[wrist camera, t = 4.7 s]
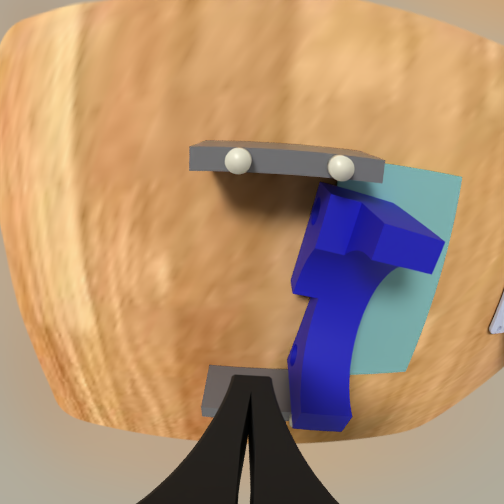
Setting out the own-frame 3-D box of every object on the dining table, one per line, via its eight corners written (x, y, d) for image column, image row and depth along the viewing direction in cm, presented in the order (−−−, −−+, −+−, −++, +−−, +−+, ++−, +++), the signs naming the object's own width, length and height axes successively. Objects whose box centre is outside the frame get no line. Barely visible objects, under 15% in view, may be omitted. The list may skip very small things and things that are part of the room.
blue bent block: (319, 181, 16) (347, 213, 11) (393, 203, 17) (445, 242, 11) (266, 355, 21) (266, 425, 16) (327, 365, 21) (341, 431, 16)
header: (358, 150, 16) (390, 162, 12) (318, 379, 22) (327, 427, 18) (206, 140, 16) (186, 147, 12) (209, 374, 22) (200, 423, 18)
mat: (461, 176, 16) (461, 177, 16) (405, 370, 22) (405, 371, 22) (339, 157, 16) (340, 158, 16) (306, 374, 22) (306, 375, 22)
